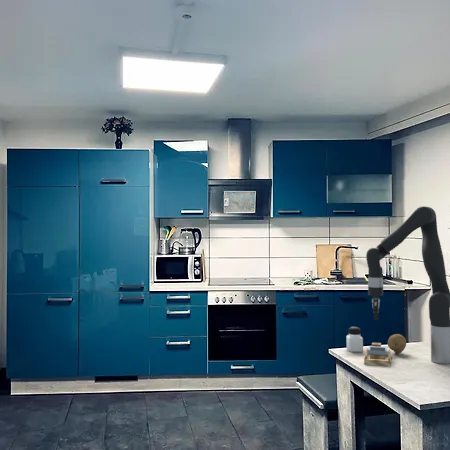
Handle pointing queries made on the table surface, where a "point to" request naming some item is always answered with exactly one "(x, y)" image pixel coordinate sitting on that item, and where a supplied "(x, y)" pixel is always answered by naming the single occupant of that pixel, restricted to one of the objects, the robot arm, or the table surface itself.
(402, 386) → the table surface
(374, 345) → the block
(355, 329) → the medicine bottle
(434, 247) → the robot arm
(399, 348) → the natural sponge
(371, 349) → the cover
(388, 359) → the wooden tray
